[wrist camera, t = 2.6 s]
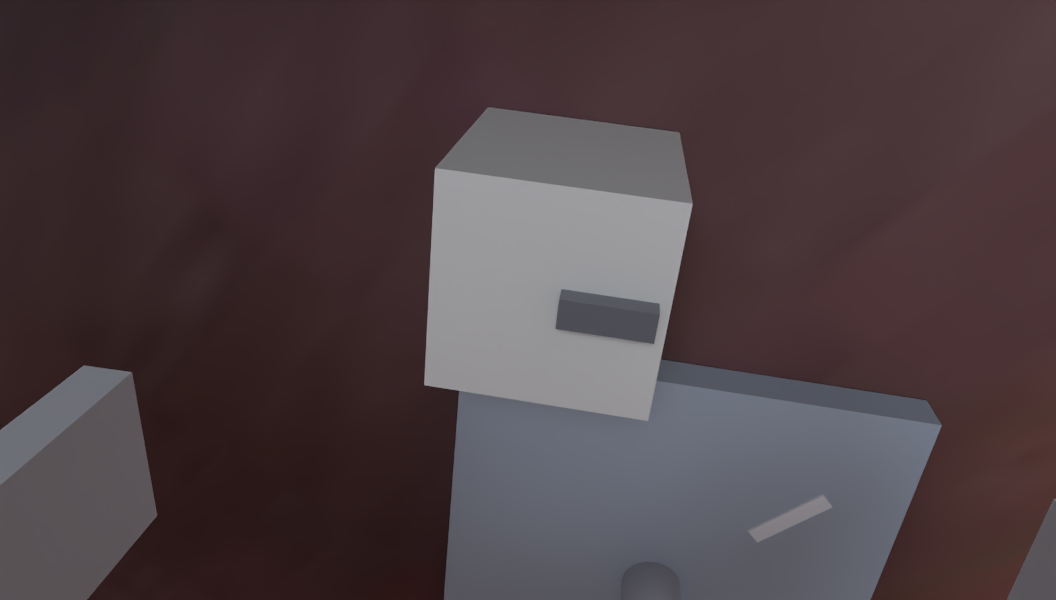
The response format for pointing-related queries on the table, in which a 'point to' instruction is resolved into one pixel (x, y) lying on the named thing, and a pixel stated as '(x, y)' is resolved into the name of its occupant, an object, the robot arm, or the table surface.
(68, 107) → the table surface
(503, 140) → the white box
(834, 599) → the plate
